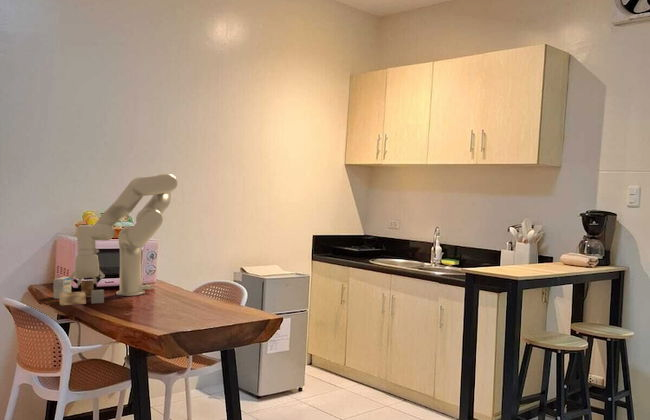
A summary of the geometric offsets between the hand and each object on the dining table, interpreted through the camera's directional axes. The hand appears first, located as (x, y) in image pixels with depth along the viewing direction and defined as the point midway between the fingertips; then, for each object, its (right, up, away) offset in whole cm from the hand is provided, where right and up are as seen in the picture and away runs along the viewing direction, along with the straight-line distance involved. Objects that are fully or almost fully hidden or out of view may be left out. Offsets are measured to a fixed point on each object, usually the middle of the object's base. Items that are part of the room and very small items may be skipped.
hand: (87, 292), depth 259 cm
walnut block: (0, -1, 0) cm, 1 cm away
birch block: (-2, -3, -12) cm, 12 cm away
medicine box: (-12, -2, +1) cm, 12 cm away
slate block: (+8, -3, -10) cm, 13 cm away
